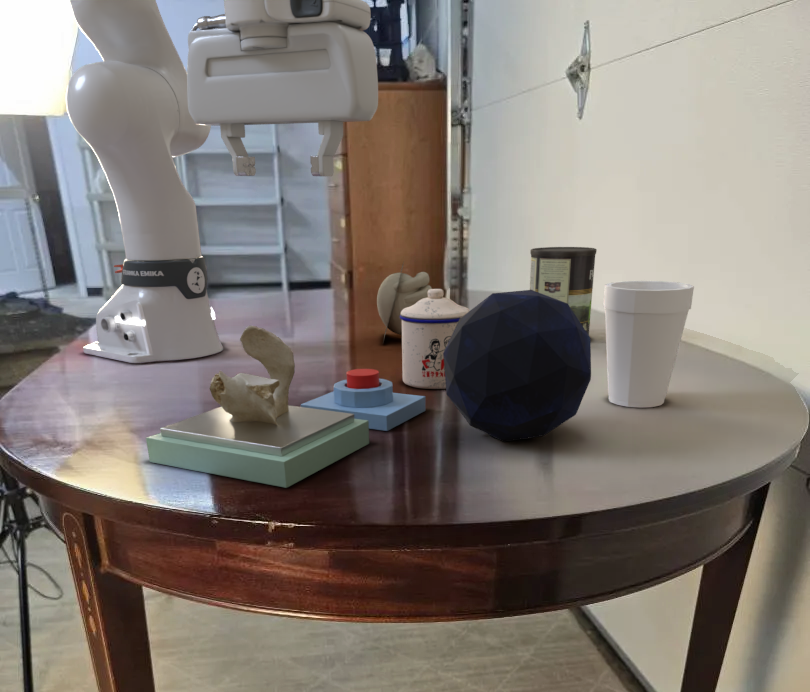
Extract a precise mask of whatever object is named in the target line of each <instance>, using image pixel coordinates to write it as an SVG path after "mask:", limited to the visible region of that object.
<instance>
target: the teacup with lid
mask: <svg viewBox="0 0 810 692" xmlns="http://www.w3.org/2000/svg"><path fill="white" fill-rule="evenodd" d="M444 294H445V292H444V290H443V289H442V288H432V289H430V290H428V298H423V299H421V300H419V301H418V302H417V303H416V304H414V305H412V306H410V307H407V308H404V309H403V310H402V311H401V315H400V319H402V336H401V359H402V361H401V363H402V364H401V365H402V367H401V369H402V371H401V372H402V382H403V383H404V384H405V385H407V386H409V387H412V388H416V389H424V390H446V382H445V370H444V358H443V353H444V350H445V348H446V346H447V344H448V342H449V340H450V338H451V336H452V334H453V331H454V329H455V327H456V325H457V323H458V321H459V319H460V318H461V317H463V316H464V315H465V314H466V313H468V312H469V311H470V310H471V309H469V308H468V307H466V306H464V305H460V304H457V303H456V302H455V301H453V300H452V299H451V298H448V297H444Z"/></svg>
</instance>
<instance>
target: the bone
mask: <svg viewBox="0 0 810 692" xmlns="http://www.w3.org/2000/svg"><path fill="white" fill-rule="evenodd" d="M239 341H240V342H241V346H242V348H243V350H244V352H245V353H246V355H247V356H248V357H251V358H252V359H254V360H257V361H258V362H259V363H260V364H261V365H262V366H263V367H264V369H265V370H266V371H267V373H268V375H269V378H268V377H264V376H260V375H255V374H250V373H244V372H239V373H237V374H236V375H234V376H233V377H231V376H228V375H227V374H226V373H224V371H222V370H219V372H218V373H215V374H214V376H213V377H212V378H211V379H210V380H211V381H210V383H209V384H210V385H209V391H210V394H211V397H212V398H213V400H214V401H215V402H216V403H217V404H218V405H220V407H221V406H222V408H223V409H224V410H225V411H226V412H227V413H229V414H231V415H232V416H233V417H232V418H231V419H230V420H229V421H230V422H251V421H256V422H266V423H271V424H275V425H277V426H278V424H277V422H276V420H277V417H279V416H281V415H282V414H284V413H286V412H288V411H289V408H288V405H289V393H290V387H291V384H292V381H293V378H294V375H295V367H296V364H295V357H294V352H293V350H292V348H291V347H290V346H289V345H288V344H286V343H285V342H284V341H283V340H282V339H281V338H280V337H279V336H277V335H276V334H275V333H274V332H270V331H269V330H266V329H265V328H262V327H258V326H255V325H247V326H246V327H245V328H244V329H243V331H242V334H241V335H240V338H239Z"/></svg>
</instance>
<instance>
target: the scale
mask: <svg viewBox="0 0 810 692" xmlns="http://www.w3.org/2000/svg"><path fill="white" fill-rule="evenodd" d="M288 408H289V411H288V412H286V413H284V414H282V415H281V416H279V417H277V420H276V422H277V424H278V426H277V425H275V424H271V423H266V422H256V421H251V422H230V421H229V420H230V419H231V418H232V417H233V416H232V415H231V414H229V413H227V412H226V411H225V410H224V409H223V408H222V406H221V405H220V406H219V407H216V408H213V409H210V410H208V411H205V412H202V413H199V414H196V415H193V416H190V417H188V418H184V419H183V420H182V419H181V420H179V421H177V422H173V423H171V424H168V425H166V426H163V427H160V432H158V433H155V434H152V435H150V436H148V437H145V441H146V447H147V454H148V459H149V462H150V463H153V464H158V465H164V466H170V467H174V468H180V469H184V470H189V471H196V472H199V473H200V472H201V473H206V474H211V475H216V476H221V477H228V478H232V479H237V480H242V481H243V480H244V481H248V482H253V483H259V484H264V485H268V486H275V487H280V488H284V489H288V488H289V487H291V486H293V485H295V484H297V483H298V482H301V481H302V480H304V479H306V478H307V477H310V476H311V475H313V474H315V473H317V472H318V471H321V470H323V469H325V468H326V467H328V466H330V465H332V464H334V463H335V462H338V461H339V460H341V459H343V458H345V457H347V456H349V455H351V454H353V453H354V452H357V451H358V450H360V449H362V448H364V447H366V446H368V445H369V444H370V429H369V422H368V420H361V419H354V414H351V413H343V412H335V411H328V410H320V409H313V408H305V407H301V406H296V405H289V404H288Z"/></svg>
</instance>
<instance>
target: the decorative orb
mask: <svg viewBox="0 0 810 692" xmlns="http://www.w3.org/2000/svg"><path fill="white" fill-rule="evenodd" d="M469 310H470V311H469V312H468V313H466V314H465V315H464V316H463V317H461V318H460V319H459V321H458V323H457V325H456V327H455V329H454V331H453V334H452V336H451V338H450V340H449V342H448V344H447V346H446V348H445V350H444V353H443V358H444V370H445V382H446V389H445V391H446V395H447V397H448V398H449V400H450V401H451V402H452V403H453V405H454V406H455V407H456V409H457V411H458V412H459V413H460V414H461V416H462V417H463V418H464V420H465V421H466V422H467V424H468V425H469V426H470V427H472V428H474V429H476V430H479V431H481V432H483V433H484V434H487V435H489V436H491V437H493V438H495V439H497V440H500V441H501V442H504V443H505V442H511V441H518V440H525V439H531V438H532V439H533V438H537V437H538V438H539V437H544V436H545V435H547V434H549V433H550V432H551V431H553V430H554V429H556V428H558V427H559V426H561V425H563V424H564V423H565V422H567V421H568V420H570V419H572V418H573V417H575V416H577V413H578V411H579V408H580V407H581V404H582V401H583V400H584V396H585V395H586V392H587V389H588V387H589V385H590V382H591V380H592V379H591V378H592V356H591V355H592V351H591V350H592V347H591V345H592V343H591V336H590V334H589V335H588V334H587V332H586V331H585V329H584V327H583V326H582V324H581V323H580V321H579V320H578V318H577V317H576V315H575V314H574V312H573V311H572V309H571V308H570V306H569V305H568V303H565V302H562V301H560V300H557V299H554V298H552V297H549V296H546V295H544V294H541V293H538V292H536V291H533V290H530V289H526V290H525V289H524V290H514V291H504V292H493V293H491V294H490V295H489V296H487V297H486V298H484V299H483V300H482V301H481V302H479V303H478V304H477V305H475V306H474V307H473V308H471V309H469Z"/></svg>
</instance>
